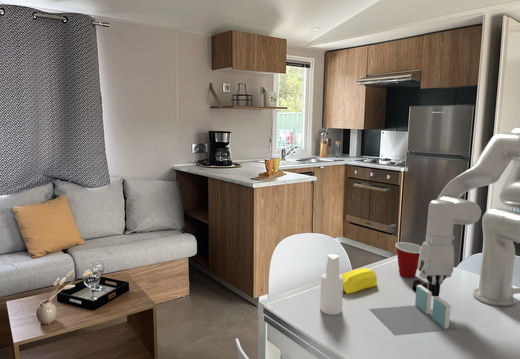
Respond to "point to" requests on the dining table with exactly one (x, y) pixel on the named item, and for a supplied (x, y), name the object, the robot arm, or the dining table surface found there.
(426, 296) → the tile
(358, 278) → the yellow faceted bar
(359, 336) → the dining table surface
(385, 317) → the mat
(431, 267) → the robot arm
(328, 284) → the spray bottle
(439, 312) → the tile
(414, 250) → the plastic cup
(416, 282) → the black slotted bracket
